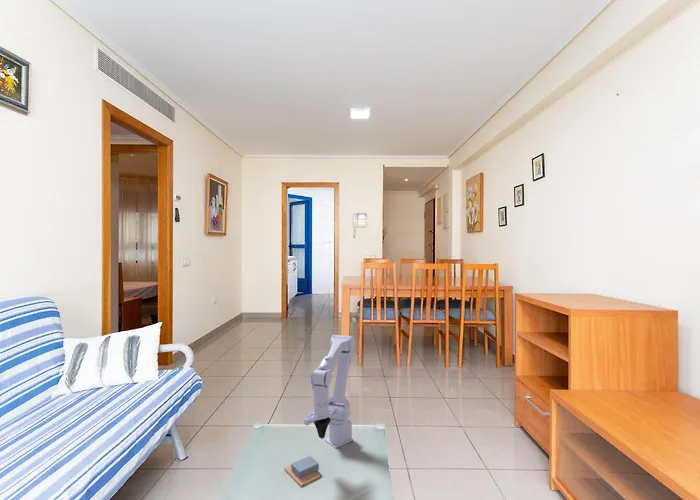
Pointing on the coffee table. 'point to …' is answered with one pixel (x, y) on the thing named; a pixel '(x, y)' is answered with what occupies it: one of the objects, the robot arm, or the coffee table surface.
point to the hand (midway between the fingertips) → (321, 437)
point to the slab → (304, 467)
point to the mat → (305, 479)
